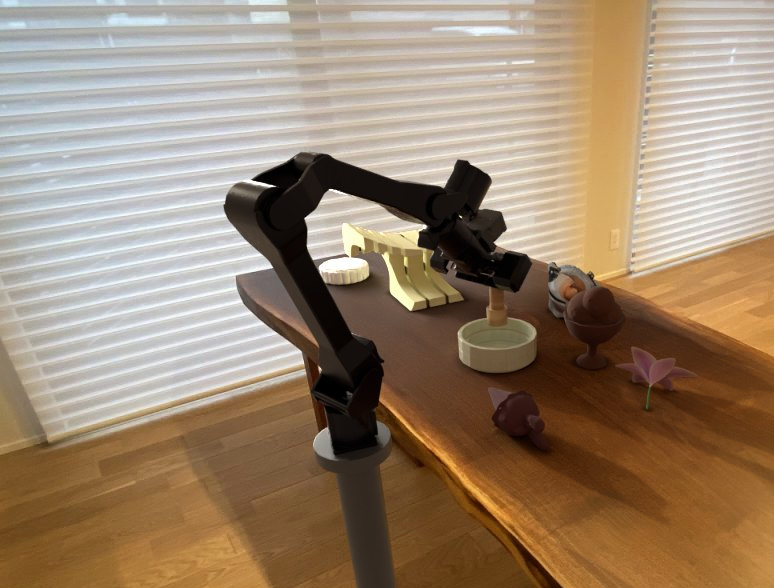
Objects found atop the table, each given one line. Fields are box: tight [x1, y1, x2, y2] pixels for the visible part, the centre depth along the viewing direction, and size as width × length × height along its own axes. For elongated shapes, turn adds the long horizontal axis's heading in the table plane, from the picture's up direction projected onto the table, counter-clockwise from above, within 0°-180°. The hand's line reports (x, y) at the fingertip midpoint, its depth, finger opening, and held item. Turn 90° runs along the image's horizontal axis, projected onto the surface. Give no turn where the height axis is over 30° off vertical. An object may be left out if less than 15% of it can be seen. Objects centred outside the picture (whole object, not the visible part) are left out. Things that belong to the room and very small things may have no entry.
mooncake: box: [318, 256, 370, 286], centre depth 154 cm, size 12×12×4 cm
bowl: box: [457, 317, 538, 374], centre depth 114 cm, size 14×14×5 cm
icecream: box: [487, 386, 549, 451], centre depth 92 cm, size 7×7×15 cm
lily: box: [614, 346, 699, 410], centre depth 100 cm, size 12×12×10 cm
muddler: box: [486, 260, 509, 327], centre depth 109 cm, size 4×4×12 cm
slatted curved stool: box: [341, 216, 465, 312], centre depth 140 cm, size 30×16×18 cm, turn 120°
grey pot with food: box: [547, 261, 601, 319], centre depth 129 cm, size 15×12×14 cm
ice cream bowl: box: [563, 285, 627, 370], centre depth 110 cm, size 11×11×15 cm
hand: (501, 286), depth 110 cm, fingers closed on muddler, 2 cm apart
